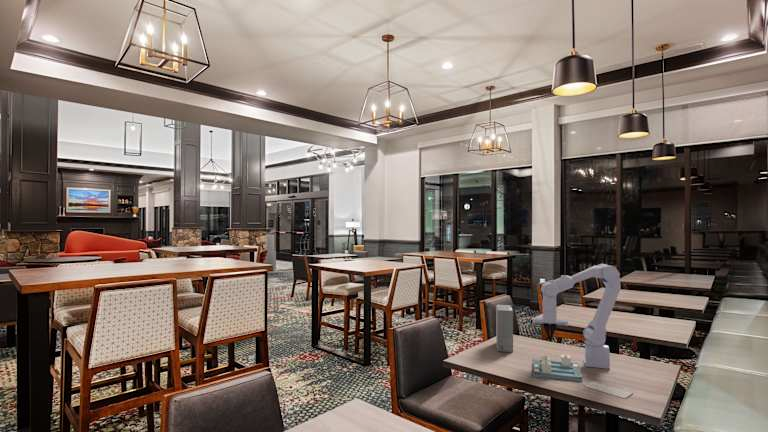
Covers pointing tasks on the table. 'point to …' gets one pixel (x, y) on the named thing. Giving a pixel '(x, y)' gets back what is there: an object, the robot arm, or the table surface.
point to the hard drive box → (504, 328)
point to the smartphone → (608, 390)
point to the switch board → (558, 371)
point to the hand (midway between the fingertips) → (550, 340)
